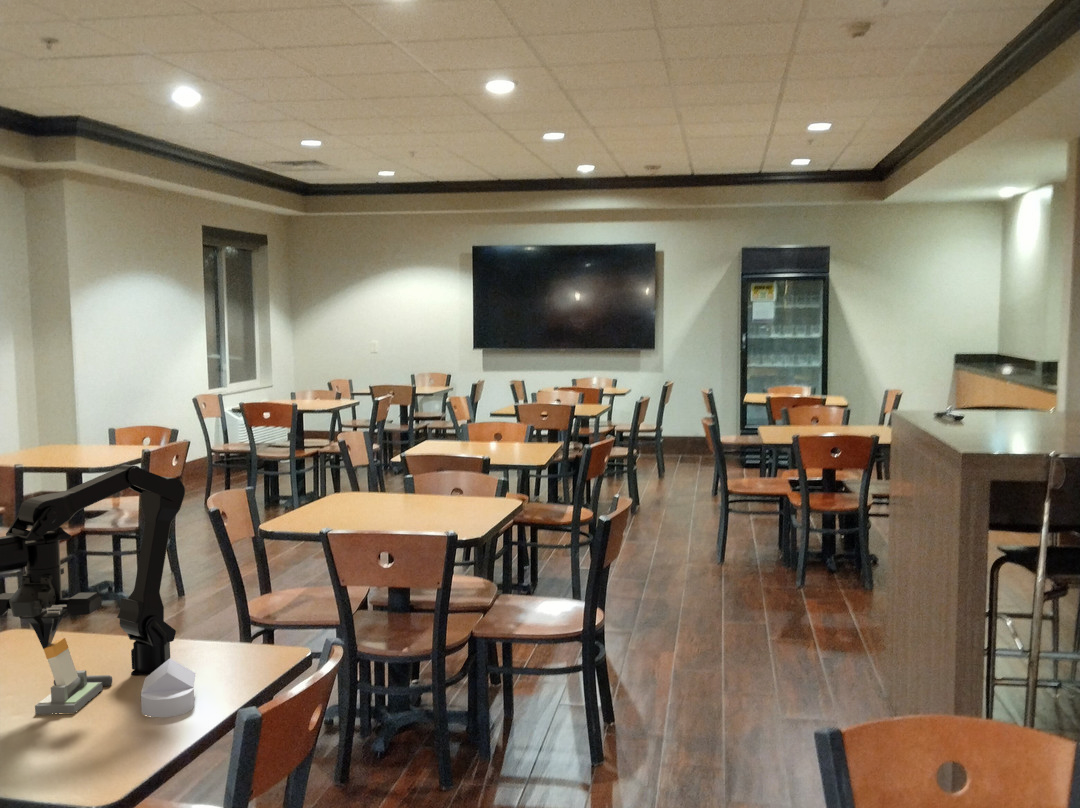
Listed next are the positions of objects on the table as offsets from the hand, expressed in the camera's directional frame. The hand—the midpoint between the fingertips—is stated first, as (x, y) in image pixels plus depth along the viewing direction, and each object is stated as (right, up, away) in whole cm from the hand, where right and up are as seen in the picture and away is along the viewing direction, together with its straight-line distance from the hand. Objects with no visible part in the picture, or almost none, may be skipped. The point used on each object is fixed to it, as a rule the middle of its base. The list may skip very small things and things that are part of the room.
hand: (46, 649), depth 185 cm
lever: (+4, -7, +1) cm, 8 cm away
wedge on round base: (+23, -10, -1) cm, 25 cm away
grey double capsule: (+3, -9, +10) cm, 14 cm away
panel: (+4, -10, +1) cm, 11 cm away
